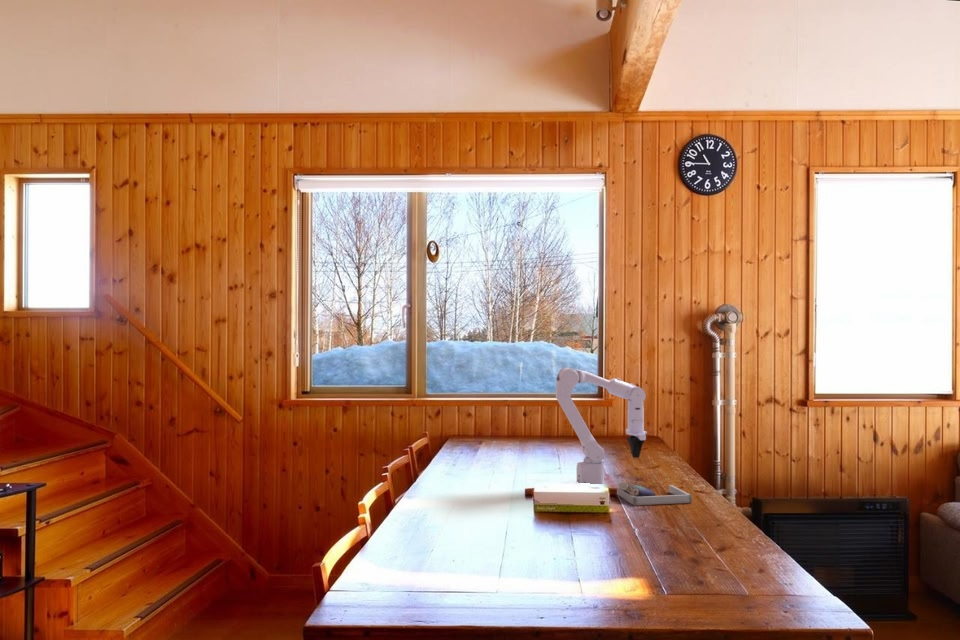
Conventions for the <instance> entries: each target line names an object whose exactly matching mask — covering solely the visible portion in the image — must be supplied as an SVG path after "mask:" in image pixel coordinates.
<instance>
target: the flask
mask: <svg viewBox="0 0 960 640" xmlns="http://www.w3.org/2000/svg"><path fill="white" fill-rule="evenodd" d="M618 487H619V489H621V490H626V491H627V492H629V493H630V494H632V495H634V496H635V497H642V496H657V495H656V494H657V493H656V492H655V491H654V490H652V489H650V488H648V487H645V486H641V485H636V484H633V483H632V484H631V483H627V482H620V483H618Z"/></svg>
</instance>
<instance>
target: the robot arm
mask: <svg viewBox="0 0 960 640" xmlns="http://www.w3.org/2000/svg"><path fill="white" fill-rule="evenodd" d="M555 381H556V386H555V399H556V400H557V402H558V405H560V408H562V409H561V410H562V411H563V413H564V414H565V417H566V418H567V419H568V422H569V423H570V425H571V427H572V428H573V431H574V432H575V434H576V436H577V438H578V439H579V442H580V444H581V446H582V452H583V455H584V459H583V461H581V462H580V461H579V462H577V464H576V483H577V482H578V483H590V484H604V485H605V467H604V466H605V460H604V459H605V456H606V452H605V448H603V446H601V445H600V444H599V443H598V442H597V441H596V439H595V438H594V436H593V435H592V433H591V431H590V429H589V427H588V426H587V424H586V422H585V421H584V419H583V417H582V415H581V413H580V412H579V409H578V408H577V406H576V404H575V403H574V401H573V399H572V397H571V396H572V393H573V391H574V388H575V387H576V386H577V385H578V383H579V384H584V383H589V384H592V385H595V386H598V387H602V388H604V389H606V391H607V392H608V394H610V395H613V396H615V397H618V398H622V399H624V400H626V399H627V428H625V434H626V435H629V436H630V437H629V436H627V437H626V440H627V442H628V444H629V445H628V446H629V447H630V452H631V456H632V458H634V459H635V458H636V459H637V458H638V459H639V458H640V456H641V453H642V452H641V451H642V448H643V445H644V443H645V442H646V440H647V435H646V434H648V431H645V428H644V427H645V422H644V421H645V417H644V416H645V415H644V414H645V410H644V408H645V407H644V402H645V400H646V397H647V396H646V392H645V391H644V388H642V387H639V386H637V385H634V383H631V382H630V383H628V382H626V381H623V380H622V378H619V377H616V378H615V377H614V378H612V379H606V378H604V377H601V376H599V375H597V374H594V373H591V372H588V371H586V370H583V369H576V368H571V367H567V366H565V367H562V368H561V369H560V370H559V371H558V374H557V375H556V379H555Z"/></svg>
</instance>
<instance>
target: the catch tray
mask: <svg viewBox="0 0 960 640" xmlns="http://www.w3.org/2000/svg"><path fill="white" fill-rule="evenodd" d="M616 493H617V496H619V497H620V498H622V499H623V500H625V501H626V502H628V503H630V504H631V505H633V506H651V505H652V506H653V505H669V504H670V505H671V504H672V505H673V504H692V503H693V502H692V500H693V499H692V494H690V493H689V492H686V491H684V490H683V489H681V488H678V487H677V486H675V485H673V484H669V485H668V493H670V494H668V495H667V494H666V495H656V496H642V497H640V496H635V495H633V494H632V493H630V492H628V491H626V490H621V489H619V486H618V487H617V489H616Z"/></svg>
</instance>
